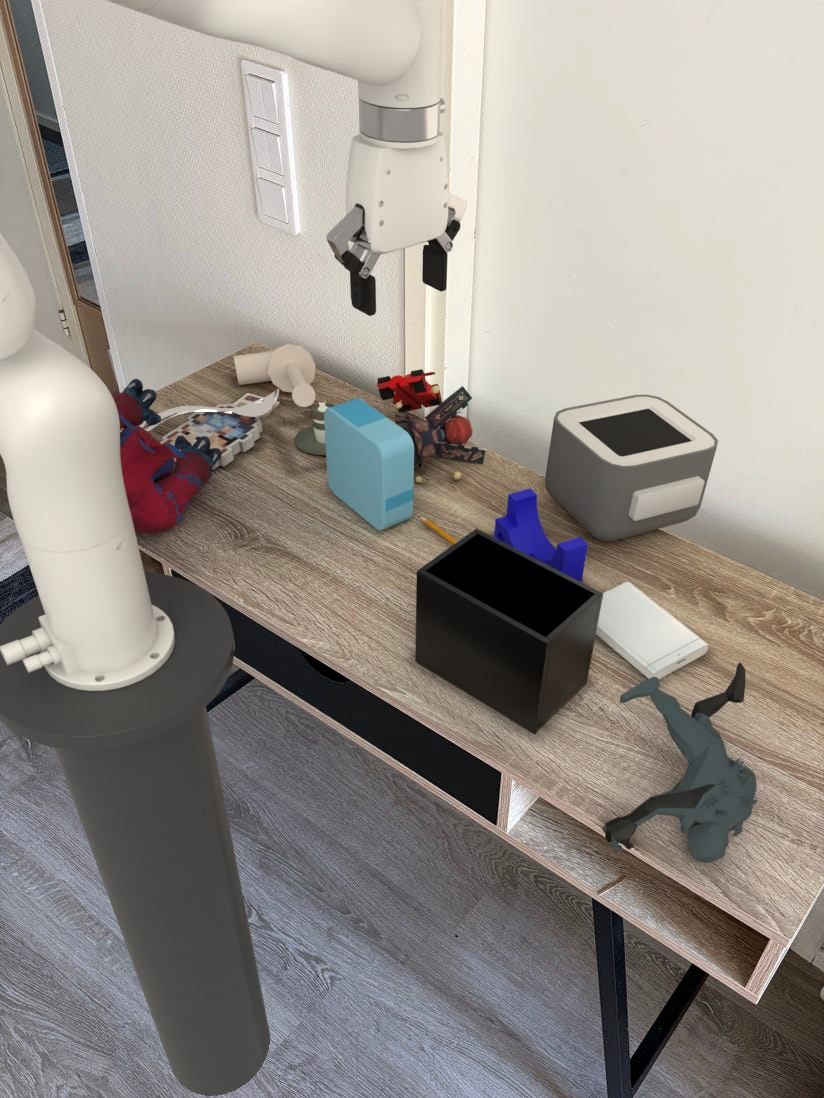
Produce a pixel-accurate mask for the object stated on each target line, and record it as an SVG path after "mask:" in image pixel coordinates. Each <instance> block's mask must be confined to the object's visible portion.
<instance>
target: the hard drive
mask: <svg viewBox="0 0 824 1098" xmlns="http://www.w3.org/2000/svg"><path fill="white" fill-rule="evenodd" d="M602 593H603V598H602V604H601V609H600V614H599V620H598V625H597V631H596V636H597V637H598V638H599V639H600V640H602V641H603V642H604V643H605V644H607V645H608V646H609V647H610V648H611V649H613V650H614V651H615V652H616V653H617V654H618V655H620V657H622V658H623V659H624V660H626V661H627V662H628V663H629V664H630V665H631V666H633V668H635V669H636V670H638V671H639V672H640V673H641V674H642V675H643V676H645V678H647V680H648V679H650V678H652V677H657V678H658V679H659V680H660V679H662V678H664V677H666V676H668V675H669V674H671V673H673V672H675V671H677V670H679V669H681V668H682V667H684V666H686V665H688V664H690V663H691V662H693V661H696V660H697V659H699V658H701V657H703V656H704V655H706V654H707V653H708V650H709V645H710V644H709V643H707V642H706V641H705V640H704V639H703V638H701V637H700V635H698V634H697V633H695V632H694V631H693V630H691V629H690V628H688V627H687V625H685V624H684V623H682V622H681V621H680V620H678V619H677V617H674V616H673V615H672V614H671V613H670V612H668V611H667V610H666V609H665V608H663V607H662V606H660V605H659V604H658V603H657V602H655V601H654V600H653V599H652V598H650V597H649V596H648V594H645V593H644V592H643V591H641V590H640V589H639V588H638V587H637V586H636V585H634V584H633V583H631V582H630V581H625V582H622V583H621V584H618V585H617V586H614V587H612V588H611V589H608V590H606V591H603V592H602Z"/></svg>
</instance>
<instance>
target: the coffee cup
mask: <svg viewBox="0 0 824 1098" xmlns="http://www.w3.org/2000/svg"><path fill="white" fill-rule="evenodd" d="M332 406H335V405H334V404H333V403H332V402H328V401H326V400H324V401H323V402H320V401H317V402H316V403H314V404H312V405H311V407H310V414H309V417H310V419H311V422H312V423H311V424H312V425H310V426H306V427H304V428H303V429H301V430H299V431H298V432H297V433H296V434H295V436H294V439H293V441H294V445H295V446H296V448H298V449H299V450H300V451H302V452H304V453H307V454H310V455H315V456H326V442H325V425H324V412H325V410H326V409H327V408H329V407H332Z"/></svg>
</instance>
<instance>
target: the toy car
mask: <svg viewBox="0 0 824 1098" xmlns="http://www.w3.org/2000/svg"><path fill="white" fill-rule="evenodd" d="M434 375H436V372H434V371H429V372H424V370H423V368H421V369H415V370H411V371H410V373H408V374H406V375H404V376H402V375H400V374H399V375H398V374H397V375H394V376H392V377H391V376H390V375H388V376H382V377H381V376H380V377H377V384H376V387H377V389H378V393H379V396H380V398H381V400H382V401H386V400H392V403H393V404H394V405H395V406H396V403H397V402H399V401H401V400H402V402H401V403H402V407H401V408H400V409H398V408H397V410H398V412H399V413H407V412H411V411H416V410H421V409H423V408H432V407H438V406H439V405H440V404H441V403H442V402H443V400H442V395H441V390H439V392H438V393H437V394H434V393H433V392H430V391H431V388H432V387H433V386H438V387H439V388H440V386H439V384H438V383H435V384H430V383H429V382H428V381H427V378H426V377H429V376H434ZM422 406H423V407H422Z"/></svg>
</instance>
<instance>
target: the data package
mask: <svg viewBox="0 0 824 1098" xmlns="http://www.w3.org/2000/svg"><path fill="white" fill-rule="evenodd" d="M324 425H325V442H326V455H325V457H326V458H325V460H326V474H327V476H326V477H327V483H328V486H329V489H330V491H331V492H332V493H333V494H334V495H335V496H336V497H337V498H338V499H339V500H341V501H342V502H343V503H344V504H346V505H347V506H348V507H349V508H350V509H351V510H353V511H354V512H355V513H357V515H359V516H360V517H361V518H362V519H364V520H365V521H366V522H367V523H368V524H369V525H371V526H372V527H374V528H375V529H376V530H378V531H384V530H387V529H389V528H392V527H394V526H396V525H398V524H400V523H403V522H405V521H407V520H410V519H411V518H412V517H413V515H414V494H415V493H414V492H415V486H414V485H415V470H414V444H413V441H412V438H411V436H410V435H409V434H408V432H406V431H405V430H404V429H402V428H401V427H400V426H398V425H397V424H396V422H395V421H393V420H391V419H390V418H389V417H387V416H385V415H384V414H383V413H381V412H380V411H379V410H377V409H376V408H375V407H373V406H372V405H370V404H369V403H367V402H366V401H364V400H363V399H362V398H359V397H356V398H353V399H351V400H347V401H345V402H341V403H338V404H336V405H334V406H332V407H329V408H327V409H326V410H325V412H324Z"/></svg>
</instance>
